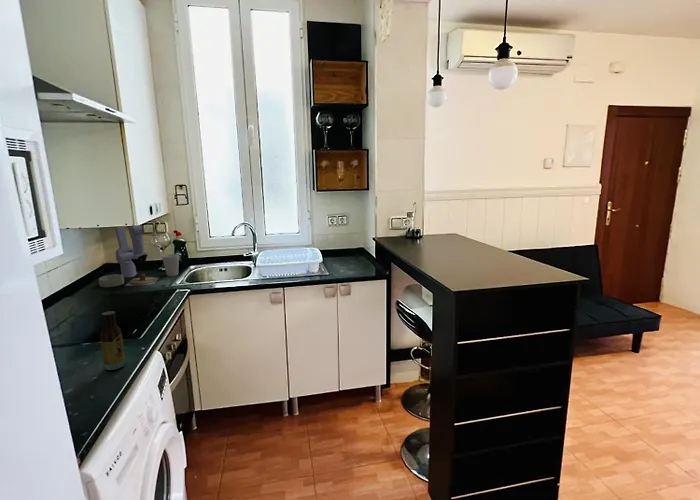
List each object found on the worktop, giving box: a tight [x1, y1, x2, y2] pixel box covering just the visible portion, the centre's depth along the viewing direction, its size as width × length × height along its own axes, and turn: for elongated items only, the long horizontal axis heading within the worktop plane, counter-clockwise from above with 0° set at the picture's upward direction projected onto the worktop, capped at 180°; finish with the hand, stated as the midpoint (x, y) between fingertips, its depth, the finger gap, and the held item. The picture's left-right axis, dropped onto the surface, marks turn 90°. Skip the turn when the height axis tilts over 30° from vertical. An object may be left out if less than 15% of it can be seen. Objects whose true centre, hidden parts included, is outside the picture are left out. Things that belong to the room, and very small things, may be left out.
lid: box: [128, 273, 157, 286], centre depth 230 cm, size 14×14×4 cm
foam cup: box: [161, 253, 180, 277], centre depth 243 cm, size 10×9×13 cm
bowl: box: [98, 274, 125, 288], centre depth 225 cm, size 12×12×4 cm
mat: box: [124, 276, 160, 287], centre depth 230 cm, size 15×15×1 cm
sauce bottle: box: [99, 310, 126, 365], centre depth 130 cm, size 6×6×20 cm
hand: (141, 268), depth 228 cm, fingers open, 7 cm apart
